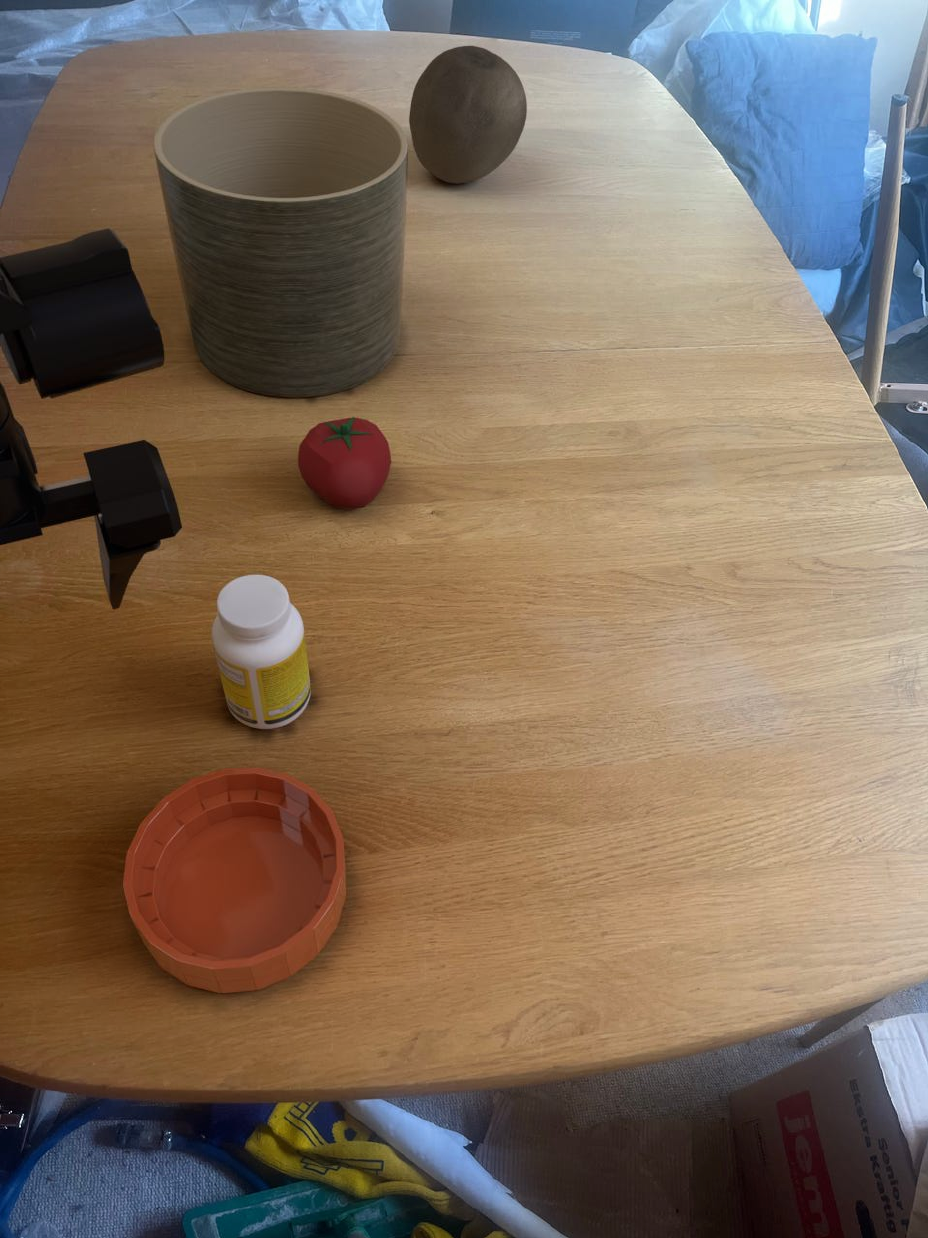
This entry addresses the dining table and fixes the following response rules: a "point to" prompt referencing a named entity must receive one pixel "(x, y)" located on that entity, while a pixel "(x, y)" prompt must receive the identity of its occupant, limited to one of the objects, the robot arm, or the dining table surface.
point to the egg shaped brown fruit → (466, 114)
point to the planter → (287, 235)
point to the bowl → (236, 879)
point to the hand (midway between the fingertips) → (36, 624)
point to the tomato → (345, 461)
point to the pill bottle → (261, 652)
